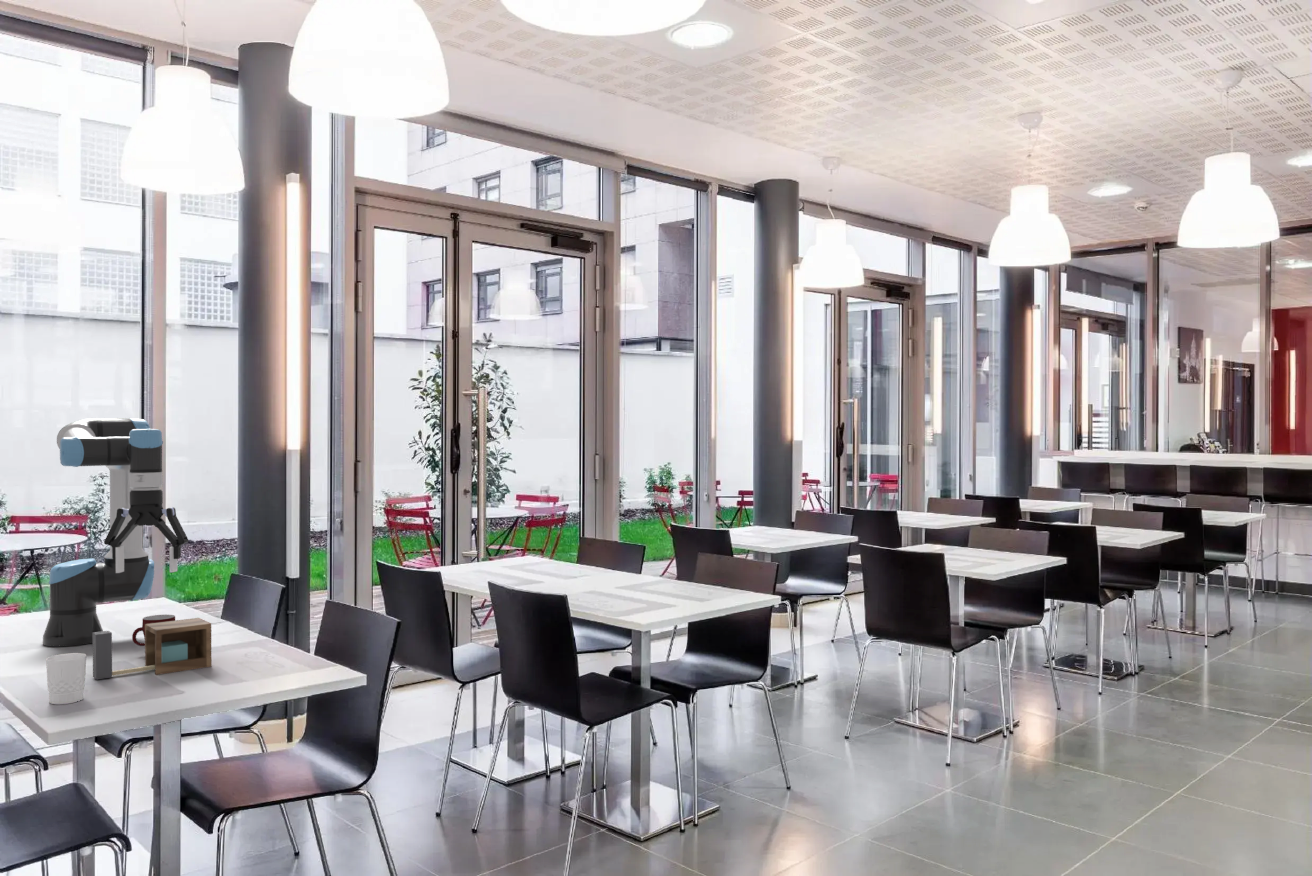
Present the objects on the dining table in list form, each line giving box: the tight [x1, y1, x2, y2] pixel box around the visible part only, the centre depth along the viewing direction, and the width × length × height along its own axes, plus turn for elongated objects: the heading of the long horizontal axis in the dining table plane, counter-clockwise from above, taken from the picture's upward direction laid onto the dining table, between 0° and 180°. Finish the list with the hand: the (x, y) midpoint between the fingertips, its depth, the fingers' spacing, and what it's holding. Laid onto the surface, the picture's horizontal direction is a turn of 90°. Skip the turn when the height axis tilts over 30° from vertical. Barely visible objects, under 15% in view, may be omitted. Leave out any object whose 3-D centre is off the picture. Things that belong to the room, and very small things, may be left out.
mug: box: [131, 614, 176, 647], centre depth 272 cm, size 11×8×10 cm
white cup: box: [45, 652, 87, 705], centre depth 226 cm, size 8×8×10 cm
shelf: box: [144, 617, 213, 676], centre depth 258 cm, size 10×13×11 cm
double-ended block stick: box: [92, 630, 188, 680], centre depth 252 cm, size 6×21×11 cm, turn 131°
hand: (146, 572), depth 255 cm, fingers open, 13 cm apart
